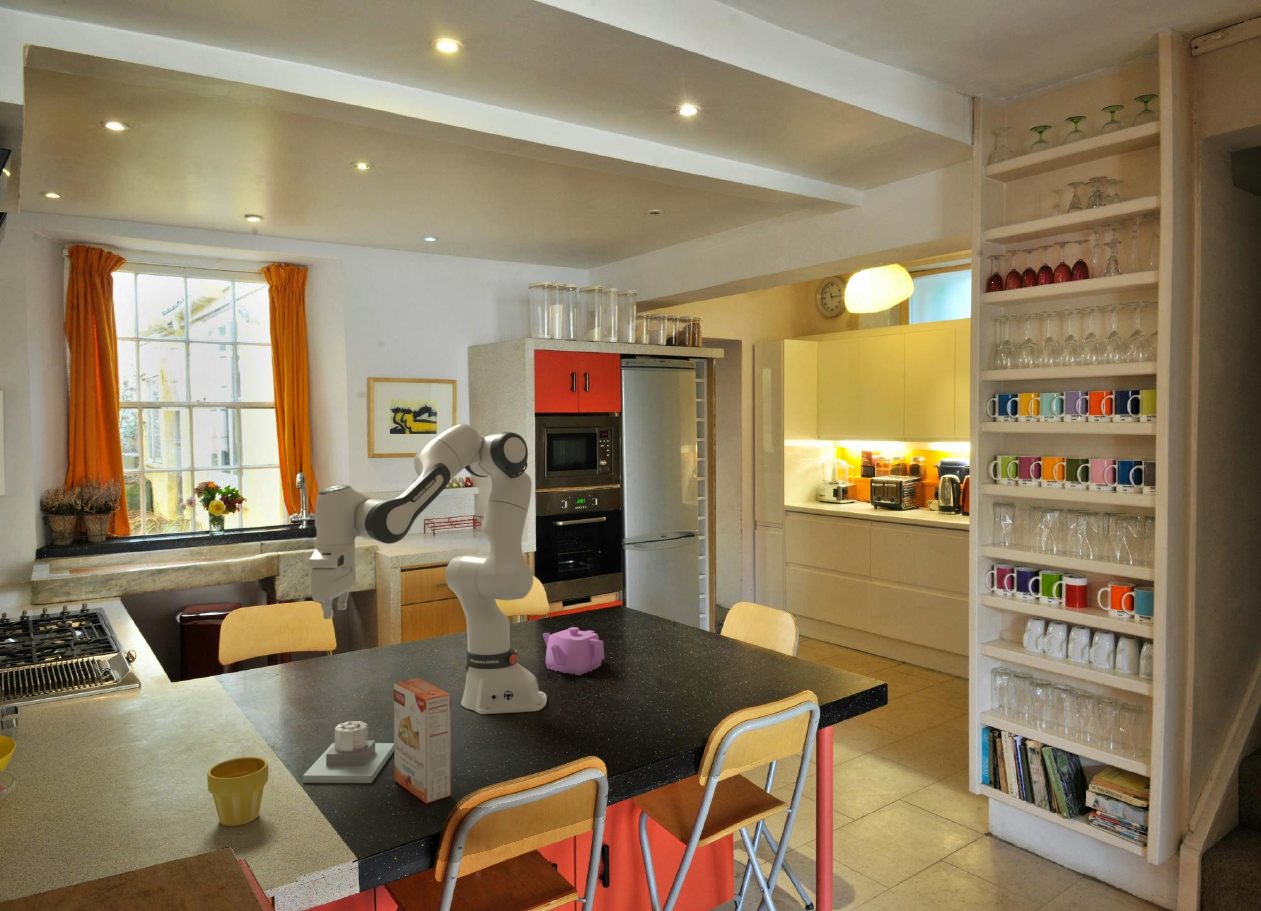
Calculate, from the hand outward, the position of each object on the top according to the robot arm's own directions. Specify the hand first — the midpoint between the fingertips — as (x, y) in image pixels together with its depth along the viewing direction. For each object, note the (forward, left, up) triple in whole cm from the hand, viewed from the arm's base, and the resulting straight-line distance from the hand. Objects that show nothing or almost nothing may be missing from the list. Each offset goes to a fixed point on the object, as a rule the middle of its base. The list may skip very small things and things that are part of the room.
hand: (335, 613), depth 200 cm
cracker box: (-27, +29, -29) cm, 49 cm away
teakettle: (-52, -58, -29) cm, 83 cm away
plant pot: (+4, +42, -29) cm, 51 cm away
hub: (-9, +17, -25) cm, 32 cm away
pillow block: (-9, +17, -29) cm, 35 cm away
